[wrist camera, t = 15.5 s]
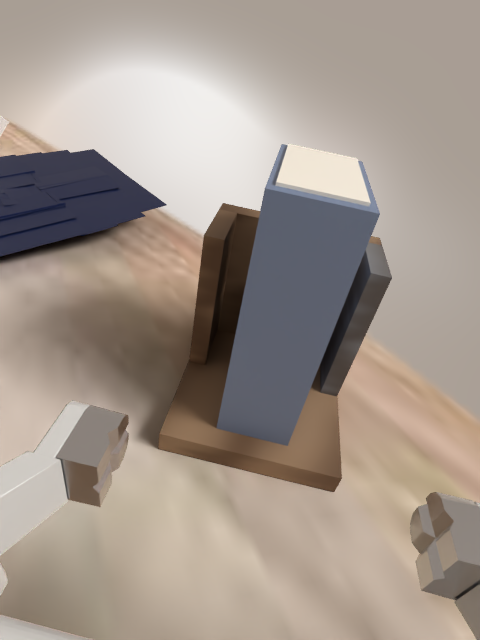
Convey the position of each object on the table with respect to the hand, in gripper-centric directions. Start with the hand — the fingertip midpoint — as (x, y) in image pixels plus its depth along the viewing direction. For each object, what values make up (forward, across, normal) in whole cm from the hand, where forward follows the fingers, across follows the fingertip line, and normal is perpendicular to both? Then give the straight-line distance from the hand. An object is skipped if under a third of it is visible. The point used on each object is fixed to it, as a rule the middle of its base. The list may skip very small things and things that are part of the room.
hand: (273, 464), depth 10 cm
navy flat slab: (+31, +31, +13) cm, 46 cm away
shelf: (+14, 0, +12) cm, 18 cm away
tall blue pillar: (+13, 0, +11) cm, 17 cm away
